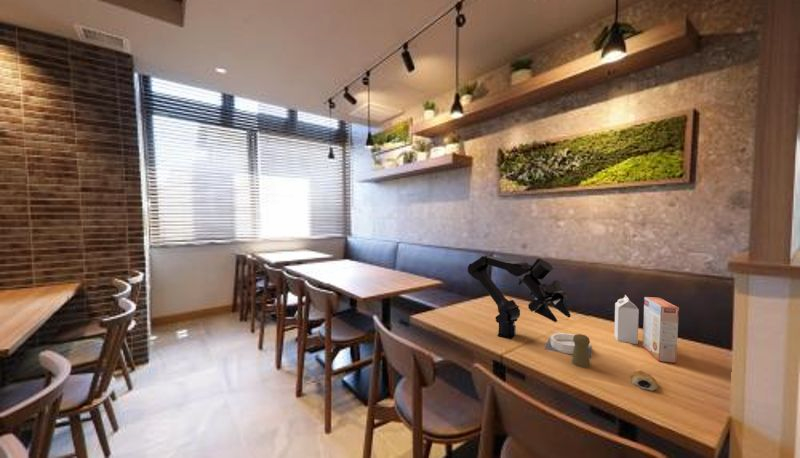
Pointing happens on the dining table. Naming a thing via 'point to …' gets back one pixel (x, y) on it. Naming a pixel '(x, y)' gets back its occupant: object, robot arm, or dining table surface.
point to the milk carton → (626, 321)
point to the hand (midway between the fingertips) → (563, 319)
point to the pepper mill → (581, 351)
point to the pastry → (644, 381)
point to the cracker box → (660, 329)
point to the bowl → (563, 342)
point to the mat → (548, 347)
